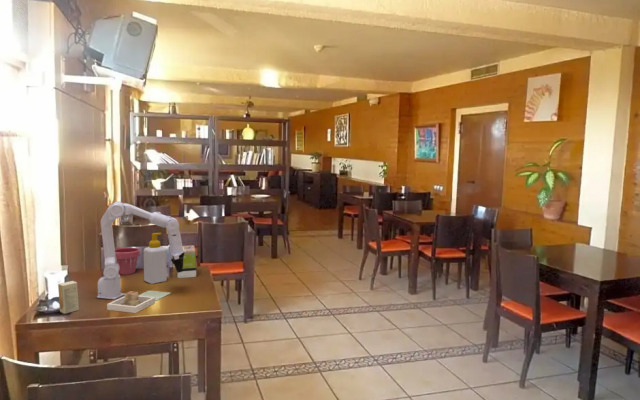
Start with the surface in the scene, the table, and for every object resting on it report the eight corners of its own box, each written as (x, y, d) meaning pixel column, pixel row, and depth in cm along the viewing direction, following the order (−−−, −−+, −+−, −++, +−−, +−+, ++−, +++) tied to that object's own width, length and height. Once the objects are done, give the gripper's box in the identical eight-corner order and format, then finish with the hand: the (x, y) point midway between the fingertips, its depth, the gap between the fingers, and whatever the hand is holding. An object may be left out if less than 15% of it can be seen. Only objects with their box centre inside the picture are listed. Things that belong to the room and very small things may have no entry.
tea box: (176, 271, 265) (176, 245, 263) (195, 270, 268) (194, 244, 266) (177, 278, 251) (176, 251, 249) (196, 277, 254) (196, 250, 252)
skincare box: (74, 308, 202) (73, 280, 201) (79, 310, 199) (78, 282, 198) (58, 311, 197) (57, 283, 196) (63, 314, 194) (62, 285, 193)
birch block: (124, 307, 204) (124, 293, 203) (130, 304, 208) (130, 290, 207) (132, 308, 203) (132, 294, 202) (138, 305, 207) (138, 291, 206)
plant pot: (135, 268, 270) (134, 246, 269) (143, 273, 259) (143, 250, 258) (109, 271, 261) (108, 249, 260) (116, 277, 250) (116, 253, 249)
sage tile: (133, 298, 216) (132, 297, 216) (148, 291, 227) (148, 290, 227) (155, 301, 213) (155, 300, 213) (170, 293, 224) (170, 292, 224)
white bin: (107, 309, 200) (107, 304, 200) (128, 299, 214) (128, 294, 214) (135, 313, 197) (135, 307, 197) (155, 302, 210) (155, 297, 210)
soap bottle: (167, 281, 245) (166, 233, 242) (151, 284, 238) (150, 235, 235) (159, 277, 251) (158, 231, 248) (143, 281, 244) (142, 233, 241)
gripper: (183, 244, 219) (188, 272, 221) (184, 238, 233) (189, 264, 235) (167, 247, 218) (172, 275, 220) (170, 240, 232) (174, 267, 234)
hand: (180, 270), depth 227 cm, fingers open, 7 cm apart
